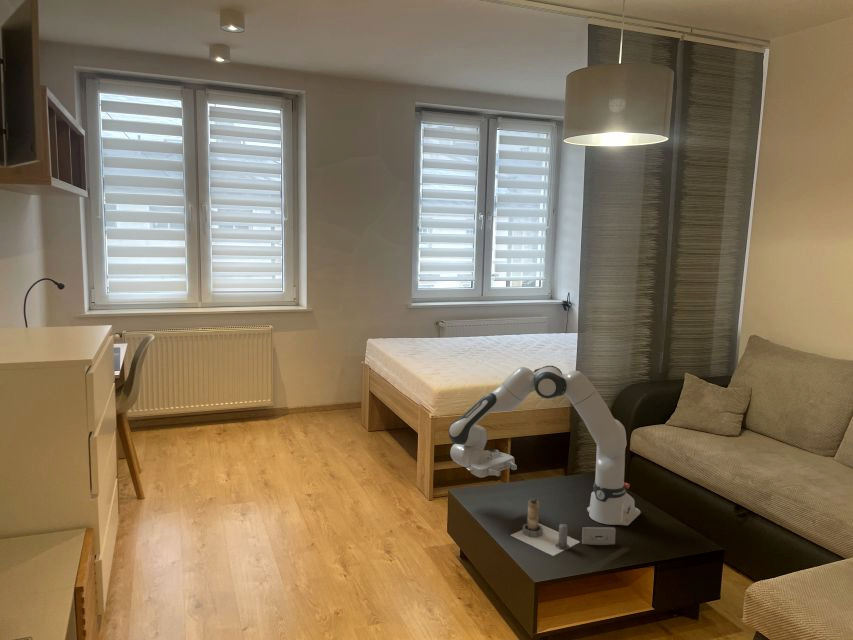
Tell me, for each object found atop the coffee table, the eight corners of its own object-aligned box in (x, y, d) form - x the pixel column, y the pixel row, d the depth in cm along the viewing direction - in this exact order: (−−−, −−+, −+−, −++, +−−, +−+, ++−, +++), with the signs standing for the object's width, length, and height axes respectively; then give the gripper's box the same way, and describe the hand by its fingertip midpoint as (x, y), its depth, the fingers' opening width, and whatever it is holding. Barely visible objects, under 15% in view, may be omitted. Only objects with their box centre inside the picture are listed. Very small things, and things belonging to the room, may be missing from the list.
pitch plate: (537, 526, 252) (538, 503, 251) (581, 546, 237) (582, 521, 236) (510, 538, 242) (510, 514, 241) (554, 560, 227) (555, 534, 225)
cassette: (582, 548, 235) (583, 528, 234) (581, 546, 237) (582, 526, 236) (615, 549, 236) (616, 529, 234) (613, 546, 237) (614, 526, 236)
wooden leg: (531, 528, 247) (532, 496, 245) (540, 532, 244) (541, 500, 242) (524, 532, 244) (526, 499, 242) (533, 535, 241) (534, 502, 239)
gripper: (463, 460, 256) (489, 469, 246) (498, 448, 269) (524, 456, 259) (464, 475, 257) (489, 485, 247) (498, 462, 270) (524, 471, 260)
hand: (507, 470), depth 253 cm, fingers open, 8 cm apart
